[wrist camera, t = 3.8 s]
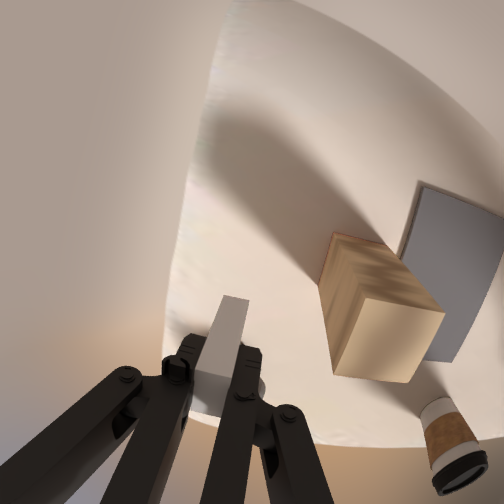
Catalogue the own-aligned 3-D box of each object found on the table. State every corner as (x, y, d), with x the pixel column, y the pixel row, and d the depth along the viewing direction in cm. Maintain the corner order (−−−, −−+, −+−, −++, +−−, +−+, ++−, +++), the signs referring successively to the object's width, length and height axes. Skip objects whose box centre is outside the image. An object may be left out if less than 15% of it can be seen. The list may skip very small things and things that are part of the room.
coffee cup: (420, 396, 36) (450, 476, 22) (466, 386, 35) (502, 456, 21) (406, 430, 39) (426, 503, 25) (449, 421, 38) (475, 487, 24)
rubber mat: (509, 221, 27) (512, 222, 26) (450, 360, 33) (451, 362, 33) (422, 186, 27) (424, 186, 27) (363, 349, 34) (364, 352, 33)
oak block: (387, 245, 30) (445, 313, 17) (369, 296, 32) (408, 383, 19) (333, 232, 30) (365, 297, 17) (317, 285, 32) (333, 374, 19)
